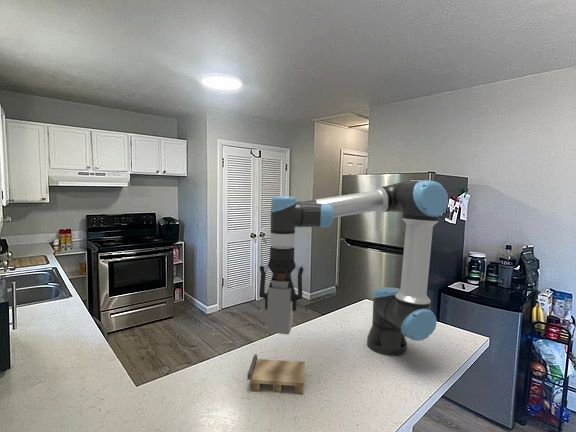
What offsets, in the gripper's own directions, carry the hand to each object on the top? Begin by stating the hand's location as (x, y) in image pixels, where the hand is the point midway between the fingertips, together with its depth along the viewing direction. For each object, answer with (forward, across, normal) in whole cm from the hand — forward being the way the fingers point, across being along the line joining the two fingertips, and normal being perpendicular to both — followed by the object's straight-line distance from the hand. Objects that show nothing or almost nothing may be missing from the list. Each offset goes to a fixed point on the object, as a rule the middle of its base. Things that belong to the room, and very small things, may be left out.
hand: (280, 319), depth 100 cm
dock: (+20, 0, 0) cm, 20 cm away
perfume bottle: (+3, 0, 0) cm, 3 cm away
